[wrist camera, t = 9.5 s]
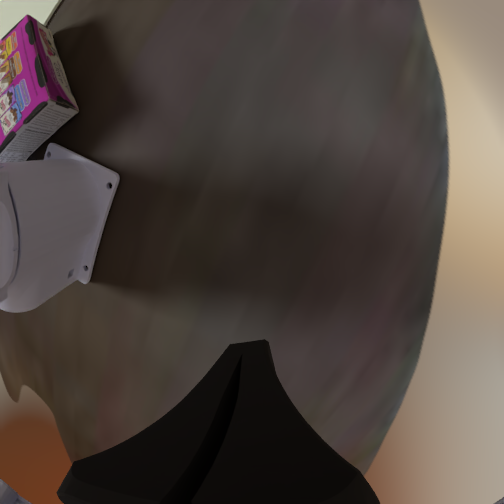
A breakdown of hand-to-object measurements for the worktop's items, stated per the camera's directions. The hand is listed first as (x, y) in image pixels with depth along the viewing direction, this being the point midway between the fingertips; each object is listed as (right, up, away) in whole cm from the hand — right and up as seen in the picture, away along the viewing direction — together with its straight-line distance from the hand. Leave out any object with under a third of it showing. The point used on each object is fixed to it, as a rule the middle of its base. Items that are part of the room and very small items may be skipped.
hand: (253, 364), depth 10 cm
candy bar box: (-15, +19, +4) cm, 25 cm away
